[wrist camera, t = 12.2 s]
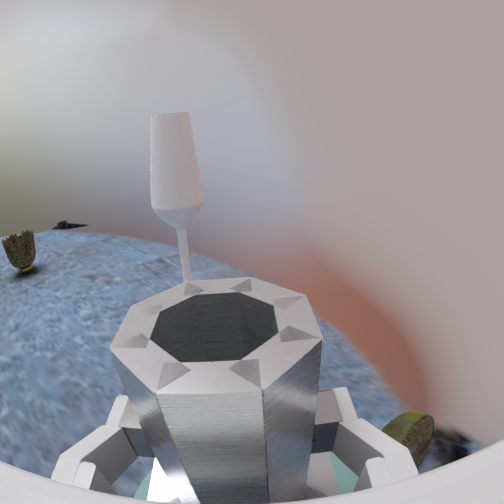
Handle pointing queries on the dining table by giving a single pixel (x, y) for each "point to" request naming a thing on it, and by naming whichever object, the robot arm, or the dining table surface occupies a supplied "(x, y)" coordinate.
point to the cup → (21, 251)
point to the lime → (412, 432)
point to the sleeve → (226, 392)
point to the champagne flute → (175, 177)
